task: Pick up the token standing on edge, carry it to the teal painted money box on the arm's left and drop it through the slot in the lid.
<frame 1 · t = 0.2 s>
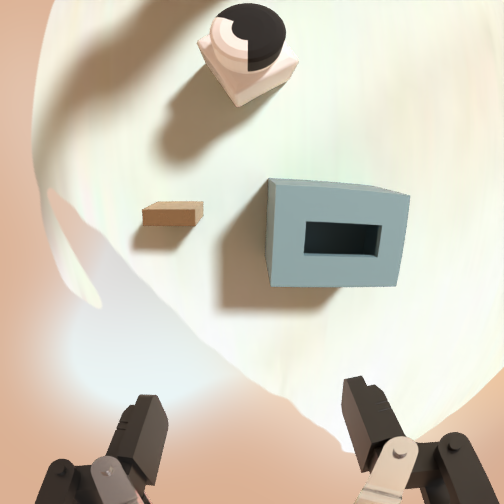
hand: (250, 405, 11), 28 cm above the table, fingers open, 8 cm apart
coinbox: (320, 220, 37), on the table
container: (247, 70, 32), on the table
token: (180, 208, 37), on the table
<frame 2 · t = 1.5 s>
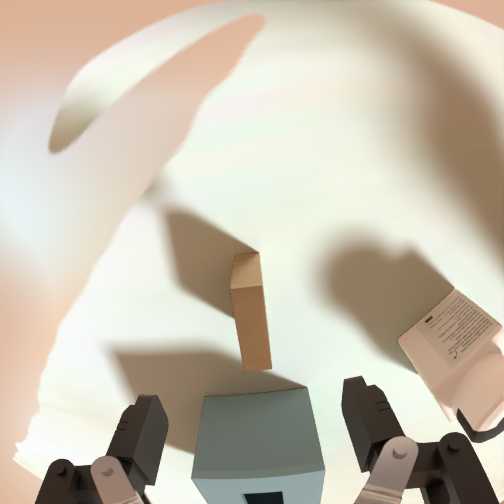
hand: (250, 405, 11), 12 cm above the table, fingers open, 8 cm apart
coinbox: (262, 434, 28), on the table
container: (437, 334, 25), on the table
token: (251, 290, 23), on the table
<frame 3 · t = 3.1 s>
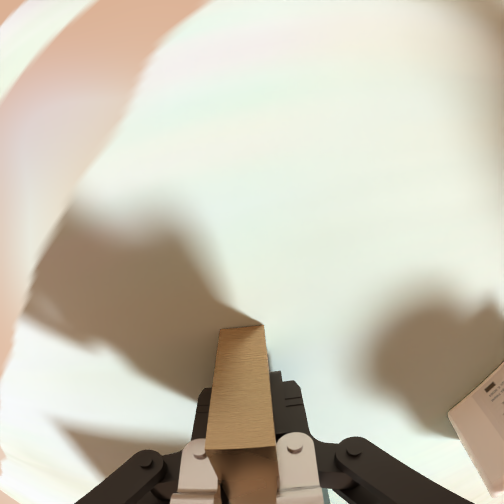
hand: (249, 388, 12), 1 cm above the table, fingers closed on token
container: (489, 395, 15), on the table
token: (250, 380, 13), on the table, touching gripper
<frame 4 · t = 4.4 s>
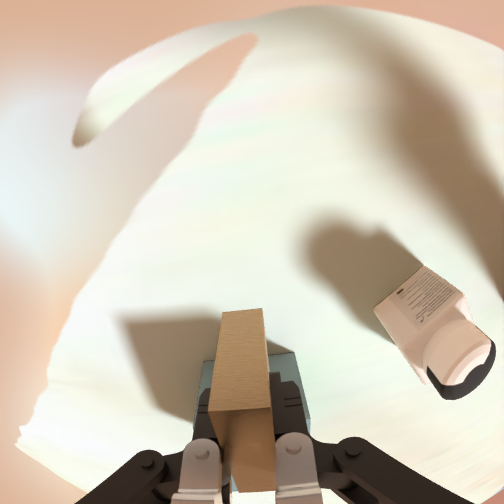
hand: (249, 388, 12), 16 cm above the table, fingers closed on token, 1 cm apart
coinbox: (255, 399, 33), on the table
container: (410, 307, 30), on the table
token: (250, 361, 14), point 14 cm above the table, touching gripper
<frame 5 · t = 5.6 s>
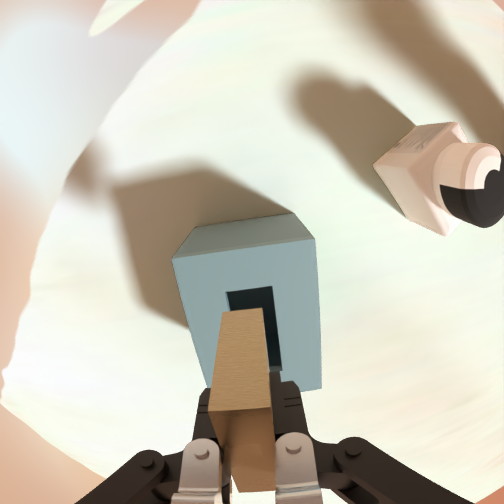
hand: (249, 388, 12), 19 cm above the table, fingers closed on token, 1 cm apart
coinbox: (253, 284, 32), on the table
container: (412, 172, 28), on the table
token: (250, 361, 14), point 17 cm above the table, touching gripper
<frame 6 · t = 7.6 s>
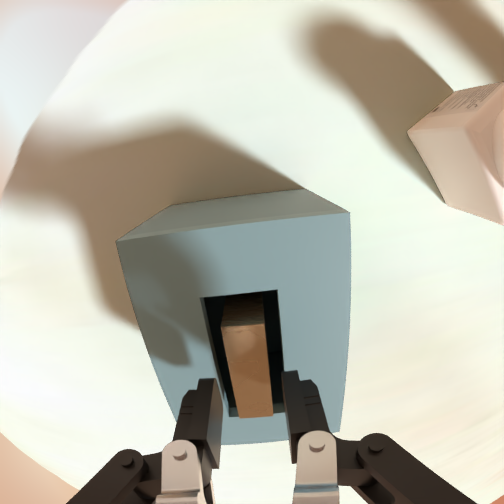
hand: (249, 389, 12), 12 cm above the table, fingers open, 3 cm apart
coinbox: (248, 285, 23), on the table
container: (451, 147, 20), on the table
token: (250, 315, 19), point 5 cm above the table
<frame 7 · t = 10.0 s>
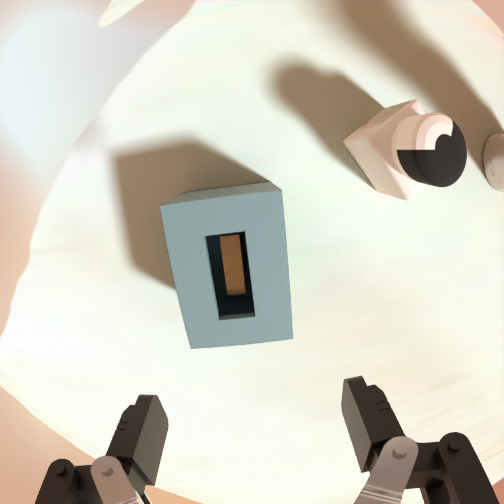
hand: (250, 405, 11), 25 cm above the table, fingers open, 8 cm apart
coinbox: (234, 246, 35), on the table
container: (381, 149, 32), on the table
token: (234, 247, 34), point 1 cm above the table, touching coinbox
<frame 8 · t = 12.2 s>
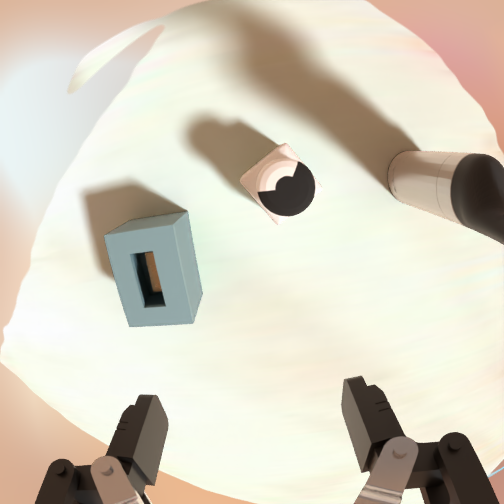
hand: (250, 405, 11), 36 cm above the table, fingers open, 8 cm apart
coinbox: (165, 257, 47), on the table
container: (276, 180, 44), on the table
token: (165, 258, 46), point 1 cm above the table, touching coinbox
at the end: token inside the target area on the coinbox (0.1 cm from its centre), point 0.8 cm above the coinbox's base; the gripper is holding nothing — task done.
